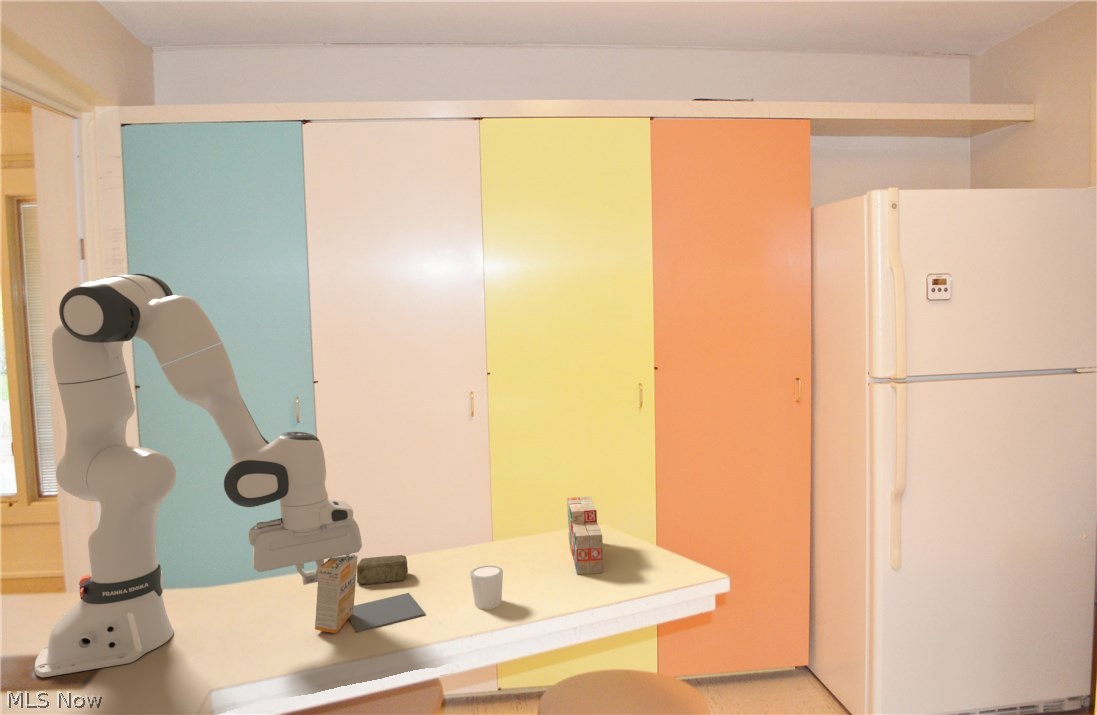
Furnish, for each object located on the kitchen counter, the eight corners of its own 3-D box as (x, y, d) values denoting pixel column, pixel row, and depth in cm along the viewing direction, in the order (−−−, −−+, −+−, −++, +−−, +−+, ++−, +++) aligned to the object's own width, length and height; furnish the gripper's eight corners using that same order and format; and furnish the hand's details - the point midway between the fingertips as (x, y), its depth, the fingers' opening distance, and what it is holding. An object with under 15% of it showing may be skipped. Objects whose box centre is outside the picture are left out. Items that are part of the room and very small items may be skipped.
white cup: (467, 601, 149) (465, 569, 148) (496, 593, 152) (495, 562, 151) (479, 613, 143) (477, 580, 142) (509, 605, 146) (508, 573, 145)
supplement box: (336, 634, 136) (341, 572, 134) (313, 630, 137) (317, 567, 135) (354, 613, 144) (358, 554, 142) (332, 609, 145) (336, 550, 143)
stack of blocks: (603, 573, 161) (601, 521, 160) (576, 575, 160) (574, 523, 159) (592, 541, 182) (590, 495, 181) (568, 543, 182) (566, 496, 180)
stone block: (407, 582, 161) (405, 561, 160) (356, 587, 159) (354, 566, 159) (408, 572, 166) (407, 552, 166) (359, 577, 165) (357, 557, 165)
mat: (356, 632, 137) (356, 630, 137) (344, 609, 147) (344, 608, 147) (425, 614, 143) (425, 613, 143) (408, 593, 154) (408, 592, 154)
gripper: (249, 528, 129) (255, 601, 130) (361, 509, 138) (365, 576, 139) (246, 519, 134) (252, 589, 136) (354, 501, 144) (359, 566, 145)
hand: (310, 582), depth 138 cm, fingers closed
